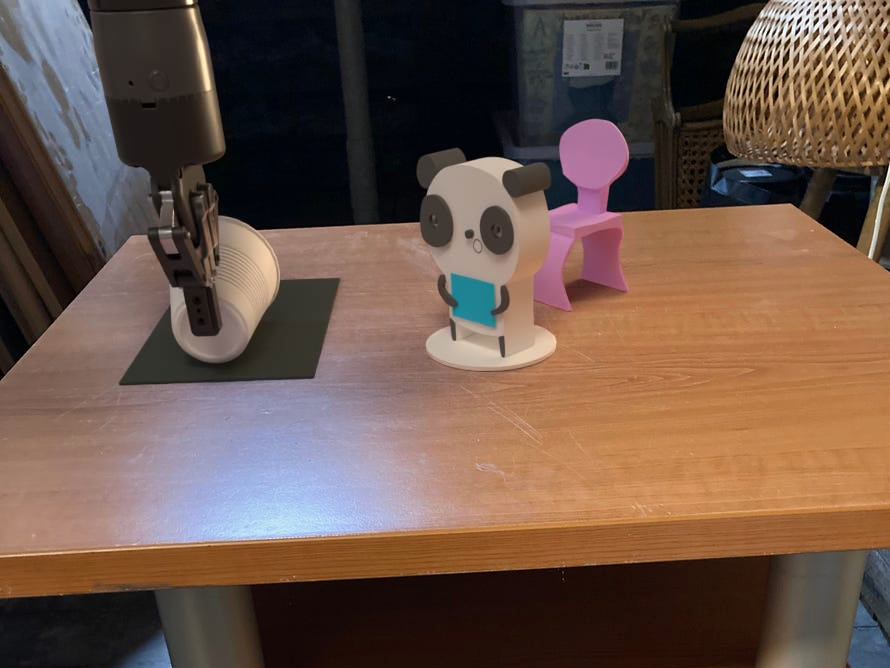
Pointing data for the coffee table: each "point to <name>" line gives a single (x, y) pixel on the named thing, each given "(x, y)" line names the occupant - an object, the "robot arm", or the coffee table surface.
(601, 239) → the toy chair
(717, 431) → the coffee table surface
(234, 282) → the cup
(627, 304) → the coffee table surface
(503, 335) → the panda figurine
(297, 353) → the mat
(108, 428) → the coffee table surface
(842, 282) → the coffee table surface
